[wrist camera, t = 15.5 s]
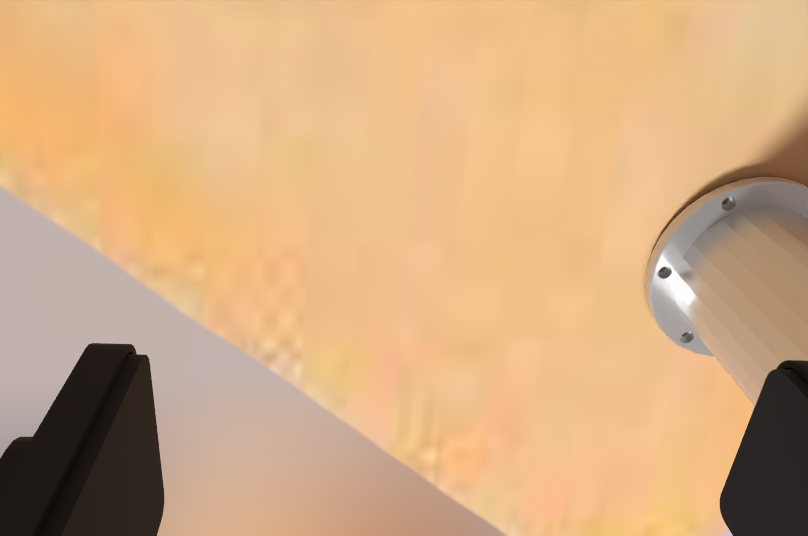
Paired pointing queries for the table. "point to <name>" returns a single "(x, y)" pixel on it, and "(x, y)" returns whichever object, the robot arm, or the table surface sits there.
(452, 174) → the table surface
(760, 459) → the robot arm
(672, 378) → the table surface
